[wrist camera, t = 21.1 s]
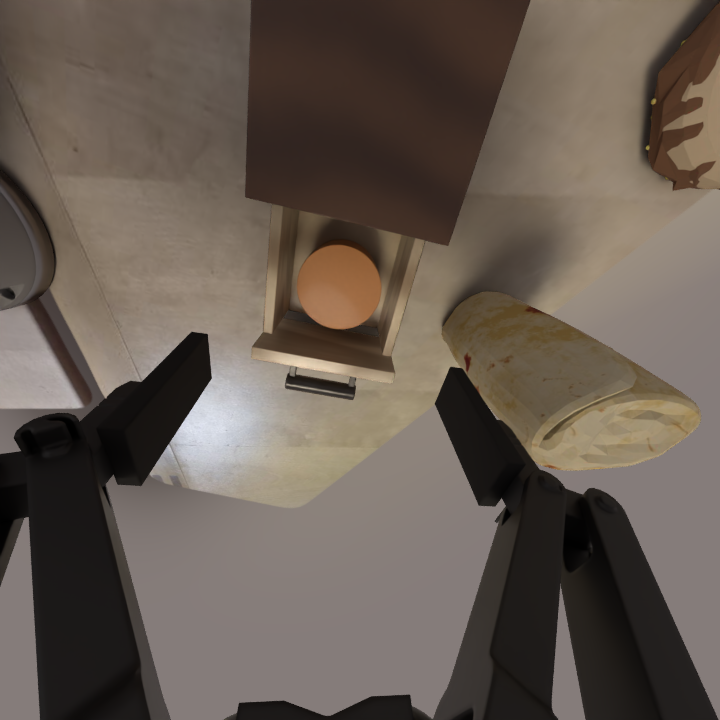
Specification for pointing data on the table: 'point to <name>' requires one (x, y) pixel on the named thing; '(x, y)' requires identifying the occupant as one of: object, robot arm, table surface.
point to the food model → (564, 387)
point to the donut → (689, 111)
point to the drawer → (319, 343)
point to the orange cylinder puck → (339, 284)
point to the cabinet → (374, 106)
